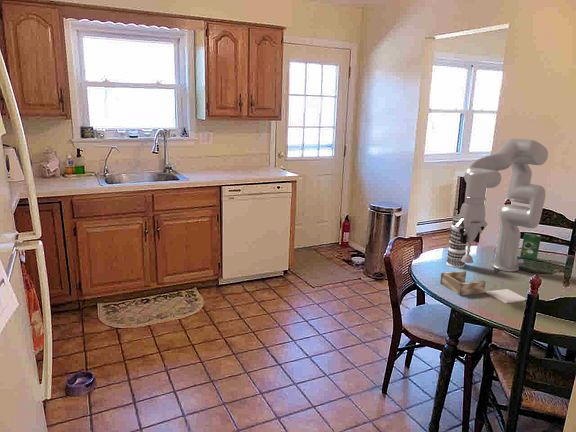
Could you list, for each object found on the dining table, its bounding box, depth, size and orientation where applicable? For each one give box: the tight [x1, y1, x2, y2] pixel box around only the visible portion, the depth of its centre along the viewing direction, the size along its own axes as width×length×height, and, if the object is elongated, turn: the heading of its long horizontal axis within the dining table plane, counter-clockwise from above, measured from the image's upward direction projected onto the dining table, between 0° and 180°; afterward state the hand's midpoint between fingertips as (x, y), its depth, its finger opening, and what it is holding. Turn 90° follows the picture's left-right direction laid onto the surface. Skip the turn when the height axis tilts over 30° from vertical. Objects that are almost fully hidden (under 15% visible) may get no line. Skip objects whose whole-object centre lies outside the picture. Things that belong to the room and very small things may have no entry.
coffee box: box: [519, 232, 542, 261], centre depth 236 cm, size 8×3×13 cm, turn 58°
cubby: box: [439, 270, 487, 296], centre depth 194 cm, size 12×13×5 cm
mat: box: [486, 288, 527, 304], centre depth 187 cm, size 11×11×1 cm
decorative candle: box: [446, 214, 468, 269], centre depth 221 cm, size 9×9×25 cm
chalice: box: [461, 222, 481, 264], centre depth 190 cm, size 7×7×18 cm
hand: (469, 242), depth 190 cm, fingers closed on chalice, 5 cm apart
